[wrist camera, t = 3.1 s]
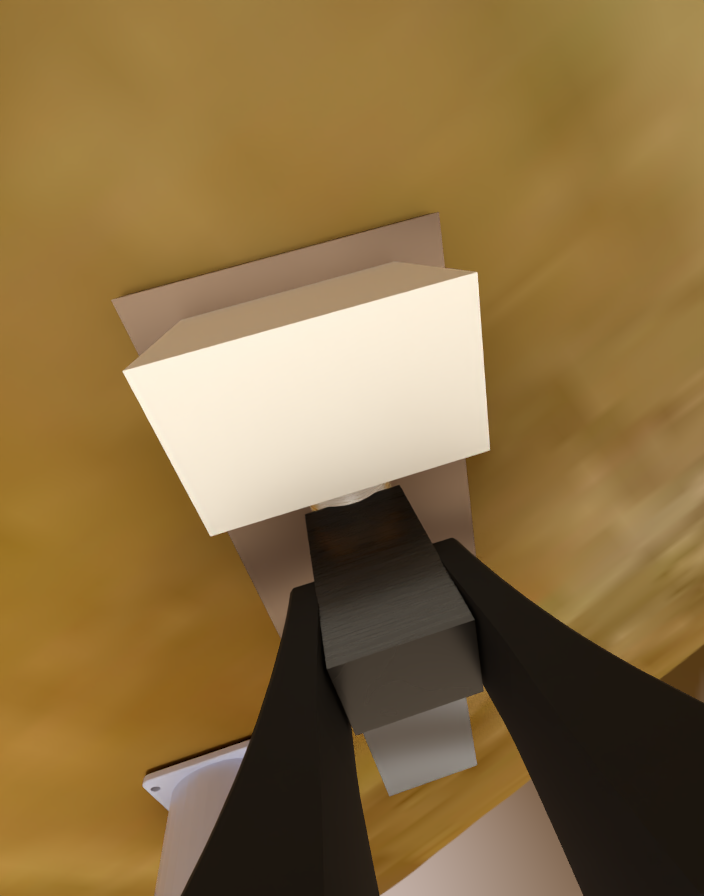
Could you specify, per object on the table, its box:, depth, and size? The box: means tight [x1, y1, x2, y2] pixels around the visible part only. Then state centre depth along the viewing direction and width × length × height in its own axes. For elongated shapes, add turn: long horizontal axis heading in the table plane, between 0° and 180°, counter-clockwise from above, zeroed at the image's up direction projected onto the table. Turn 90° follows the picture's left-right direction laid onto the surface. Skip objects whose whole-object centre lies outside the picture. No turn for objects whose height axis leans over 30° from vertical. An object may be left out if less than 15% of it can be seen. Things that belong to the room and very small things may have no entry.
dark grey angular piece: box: [305, 481, 483, 735], centre depth 13 cm, size 14×3×8 cm, turn 13°
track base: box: [111, 212, 477, 796], centre depth 16 cm, size 24×10×5 cm, turn 13°
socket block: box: [123, 261, 490, 536], centre depth 11 cm, size 4×7×6 cm, turn 103°
